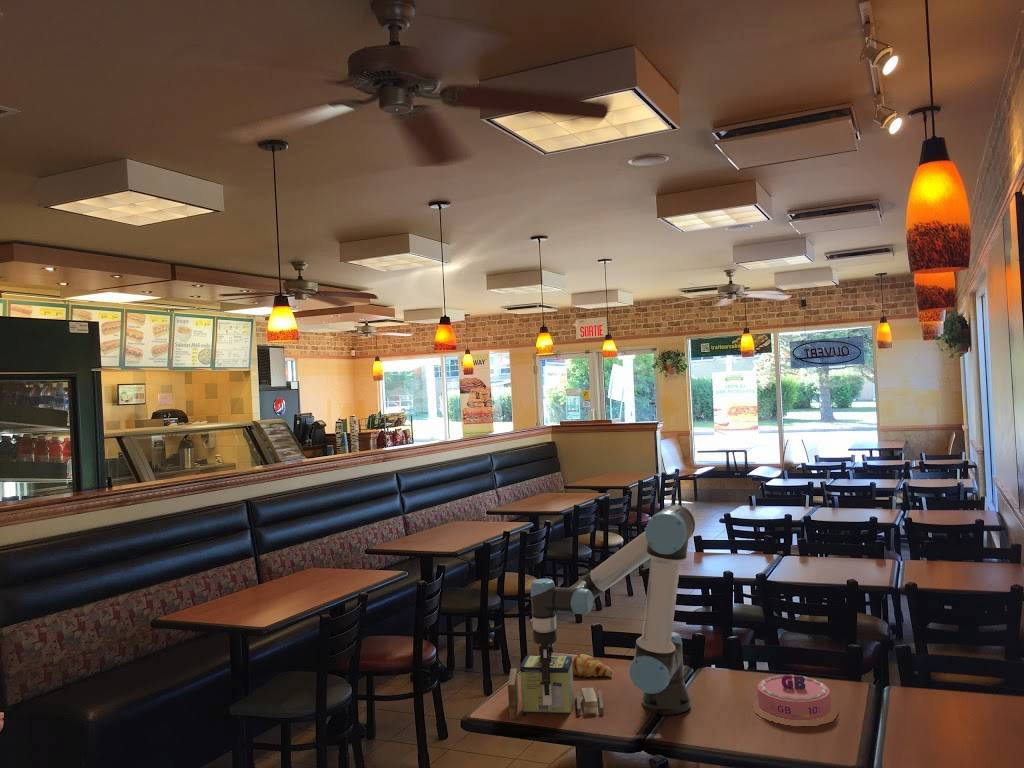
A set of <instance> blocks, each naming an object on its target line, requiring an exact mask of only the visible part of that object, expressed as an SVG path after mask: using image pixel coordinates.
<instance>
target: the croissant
mask: <svg viewBox="0 0 1024 768" xmlns="http://www.w3.org/2000/svg"><path fill="white" fill-rule="evenodd" d="M571 657H572V669H573V676H575V675H578V676H577V677H581V676H584V677H583V678H592V677H591V676H594V678H597V677H598V676H600V677H604V678H606V676H607V677H611V676H612V675H613V670H611V668H610V667H609V666H608V665H607V664H604V663H603V662H602V661H601V660H600V659H596V658H595V659H594V658H593V657H592V656H590V655H588V654H585V653H578V654H577V655H576V656H571ZM598 678H599V677H598Z"/></svg>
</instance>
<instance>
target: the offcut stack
mask: <svg viewBox="0 0 1024 768" xmlns="http://www.w3.org/2000/svg"><path fill="white" fill-rule="evenodd" d="M581 695H582V696H581V697H583V705H584V714H588V713H597V707H598V705H597V699H596V697H597V695H596V692H595V690H594V687H583V688H581Z"/></svg>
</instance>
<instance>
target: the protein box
mask: <svg viewBox="0 0 1024 768" xmlns="http://www.w3.org/2000/svg"><path fill="white" fill-rule="evenodd" d="M572 657H573V656H567V655H566V656H565V655H563V656H562V655H558V656H557V655H555V656H554V655H551V663H550V682H551V694H552V705H543V691H542V685H540V682H542V663H541V662H540V655H525V657H524V659H523V661H522V662H521V664H520V666H519V670H520V671H519V672H520V687H521V689H520V690H521V706H522V716H524V717H526V716H527V714H546V715H548V714H550V715H551V714H552V715H553V714H555V715H571V714H572V711H573V708H574V705H575V703H576V701H575V690H574V688H575V687H574V675H573V669H572ZM544 681H546V680H544Z"/></svg>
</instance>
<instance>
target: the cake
mask: <svg viewBox="0 0 1024 768" xmlns="http://www.w3.org/2000/svg"><path fill="white" fill-rule="evenodd" d="M756 689H757V691H756V692H757V698H758V705H759V707H760V708H761V709H762V710H763V711H765V712H767V713H769V714H771V715H774V716H776V717H780V718H784V719H790V720H812V719H817V718H821V717H823V716H826V715H827V714H828V713H829V712H830V711H831V703H832V700H831V699H832V698H831V696H832V695H831V690H830V688H829V687H828V686H827V685H826V684H825V683H823V682H821V681H819V680H816V679H815V678H813V677H812V678H811V677H808V676H804V675H796V674H777V675H774V676H773V675H771V676H769V677H767V678H764V679H762V680H760V681H759V683H758V684H757V688H756Z"/></svg>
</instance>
